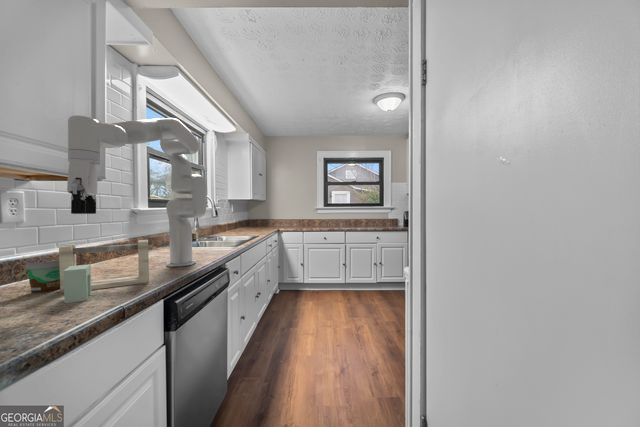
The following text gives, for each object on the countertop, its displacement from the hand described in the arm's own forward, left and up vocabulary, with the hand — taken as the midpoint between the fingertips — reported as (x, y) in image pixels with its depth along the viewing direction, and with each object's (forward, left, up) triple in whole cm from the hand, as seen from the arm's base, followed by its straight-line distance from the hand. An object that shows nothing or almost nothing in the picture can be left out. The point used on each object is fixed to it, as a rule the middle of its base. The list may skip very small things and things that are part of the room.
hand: (84, 213), depth 84 cm
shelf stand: (-11, +4, -26) cm, 28 cm away
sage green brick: (+1, -2, -26) cm, 26 cm away
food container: (-16, -11, -26) cm, 32 cm away
